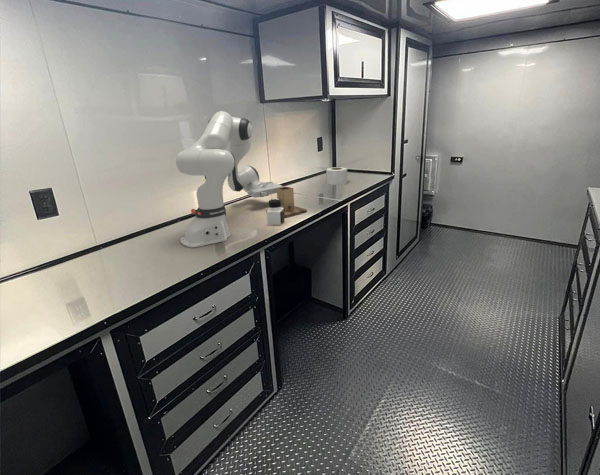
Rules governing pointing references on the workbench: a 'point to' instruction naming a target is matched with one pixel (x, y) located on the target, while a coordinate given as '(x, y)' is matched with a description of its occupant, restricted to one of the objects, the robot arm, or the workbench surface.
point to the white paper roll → (336, 175)
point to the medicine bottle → (275, 213)
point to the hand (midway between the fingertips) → (274, 193)
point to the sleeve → (286, 198)
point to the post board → (294, 212)
